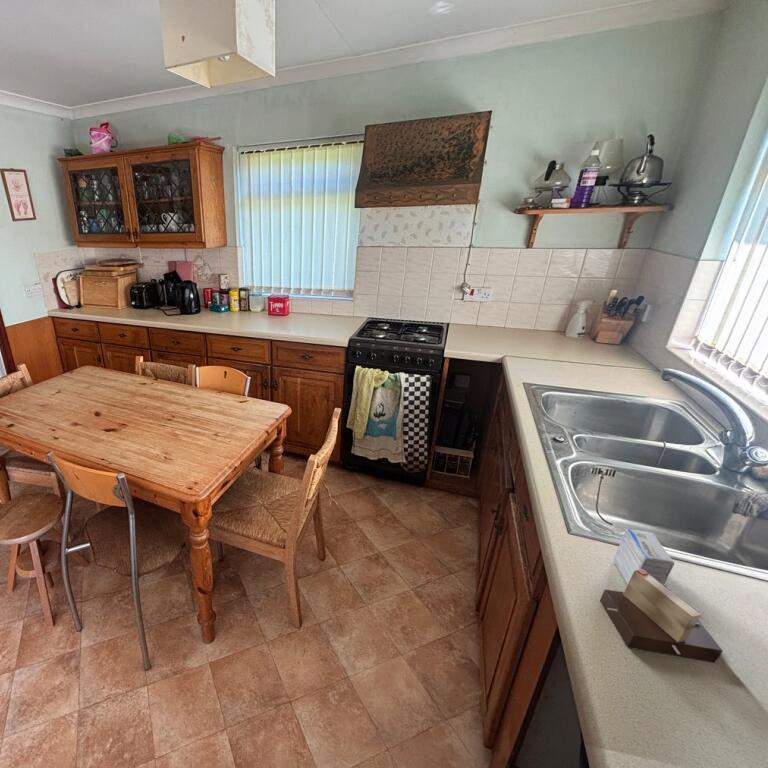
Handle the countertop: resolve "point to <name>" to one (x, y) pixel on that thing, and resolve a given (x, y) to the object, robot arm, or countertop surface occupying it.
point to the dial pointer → (661, 605)
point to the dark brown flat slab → (656, 631)
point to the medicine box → (642, 556)
